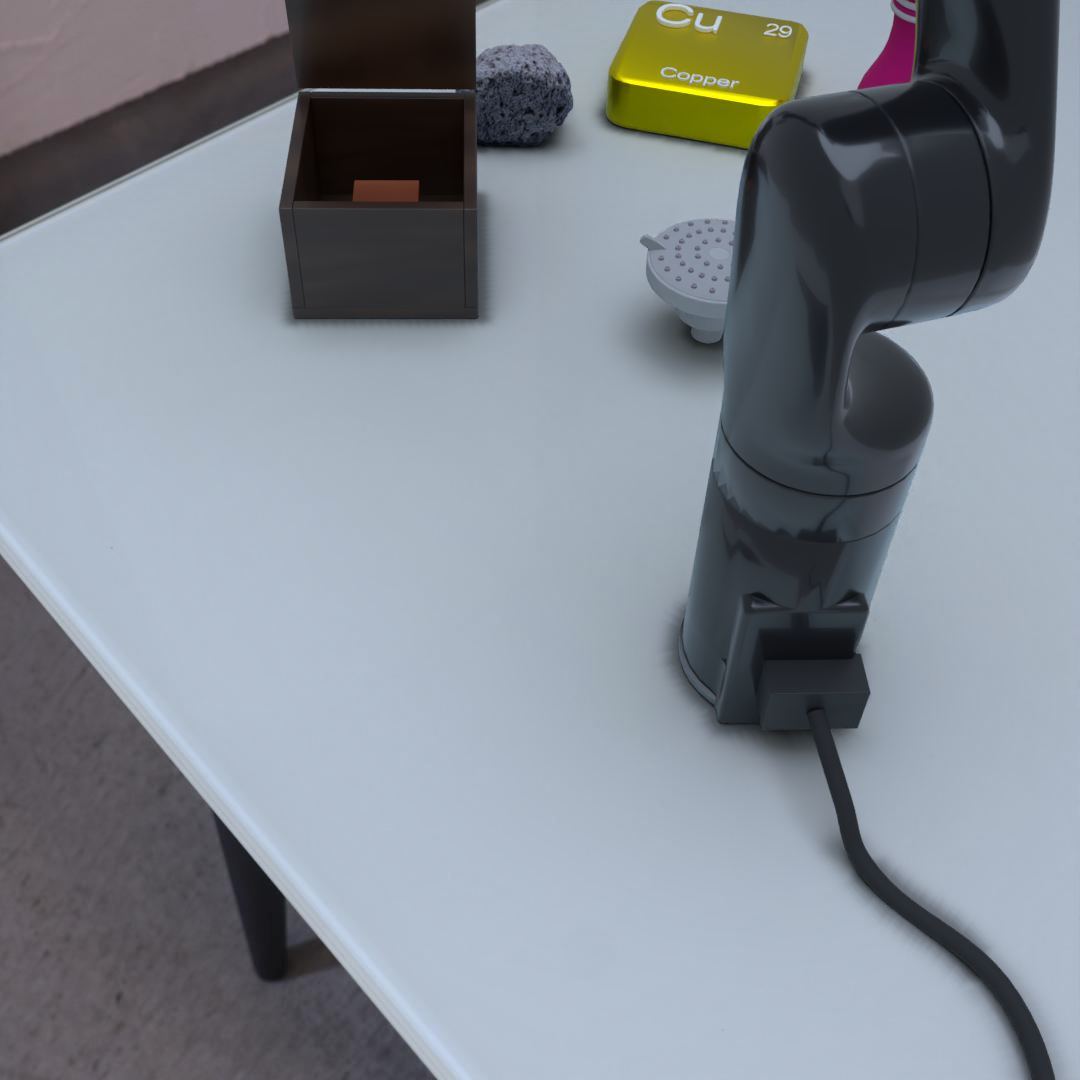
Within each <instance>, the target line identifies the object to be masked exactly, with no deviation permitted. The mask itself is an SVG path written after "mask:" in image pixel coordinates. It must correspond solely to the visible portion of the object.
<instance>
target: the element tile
mask: <svg viewBox="0 0 1080 1080" xmlns="http://www.w3.org/2000/svg"><path fill="white" fill-rule="evenodd" d="M808 42H809V31H808V30H807V28H806V27H805V26H804V24H802V23H800V22H797V21H792V20H787V19H781V18H774V17H769V16H762V15H756V14H750V13H749V14H748V13H742V12H736V11H731V10H730V11H729V10H724V9H717V8H709V7H705V6H698V5H691V4H684V3H678V2H671V1H665V0H649V1H647V2H645V3H644V4H642V5H641V6H639V7H638V8H637V10H636V13H635V14H634V16H633V19H632V21H631V23H630V24H629V27H628V29H627V31H626V33H625V35H624V37H623V39H622V41H621V43H620V45H619V47H618V49H617V51H616V53H615V56H613V59H612V62H611V63H610V66H609V67H608V74H607V87H606V88H607V89H606V101H605V102H606V103H605V114H606V117H607V119H608V120H609V122H611V123H612V124H614V125H616V126H618V127H621V128H625V129H629V130H637V131H642V132H648V133H654V134H658V135H664V136H671V137H675V138H682V139H689V140H693V141H700V142H706V143H710V144H718V145H722V146H729V147H734V148H740V149H746V150H748V149H749V146H750V143H751V140H752V138H753V136H754V134H755V132H756V130H757V128H758V127H759V125H760V124H761V123H762V121H763V120H764V118H765V117H766V116H767V115H768V114H769V113H770V112H771V111H772V110H773V109H775V108H776V107H778V106H780V105H781V104H784V103H786V102H789V101H793V100H796V99H795V98H796V95H797V91H798V88H799V84H800V81H801V78H802V74H803V69H804V63H805V58H806V52H807V48H808Z"/></svg>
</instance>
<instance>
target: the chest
mask: <svg viewBox="0 0 1080 1080" xmlns="http://www.w3.org/2000/svg"><path fill="white" fill-rule="evenodd" d="M355 180H419V186H420V202H395V201H352V199H353V189H354V181H355ZM278 213H279V220H280V228H281V229H280V230H281V235H282V243H283V250H284V251H283V252H284V257H285V264H286V272H287V278H288V284H289V285H288V286H289V292H290V301H291V307H292V315H293V319H478V318H479V254H478V253H479V240H478V239H479V237H478V233H479V232H478V230H479V229H478V228H479V225H478V223H479V222H478V216H479V215H478V143H477V94H476V93H459V92H455V91H454V92H446V91H445V92H443V91H441V92H440V91H434V92H433V91H431V92H430V91H328V90H327V91H325V90H324V91H323V90H322V91H319V90H317V91H315V90H313V91H304V90H303V91H302V90H301V91H300V90H299V91H298V93H297V99H296V105H295V112H294V117H293V123H292V129H291V134H290V140H289V145H288V151H287V157H286V164H285V170H284V175H283V181H282V187H281V194H280V199H279V205H278Z"/></svg>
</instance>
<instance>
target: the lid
mask: <svg viewBox="0 0 1080 1080" xmlns="http://www.w3.org/2000/svg"><path fill="white" fill-rule="evenodd" d="M284 5H285V6H284V7H285V13H286V18H287V26H288V31H289V40H290V46H291V53H292V54H291V55H292V62H293V67H294V73H295V80H296V81H295V82H296V88H297V89H312V90H313V89H316V90H317V89H321V90H322V89H324V90H325V89H329V90H439V91H440V90H445V91H446V90H453V91H454V90H476V59H477V0H284Z"/></svg>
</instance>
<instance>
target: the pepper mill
mask: <svg viewBox="0 0 1080 1080" xmlns="http://www.w3.org/2000/svg"><path fill="white" fill-rule="evenodd" d="M889 4H890V5H889V6H890V9H891V11H892V12H893V20H892V26H891V29H890V31H889V36H888V39H887V41H886V43H885V45H884V46H883V49H882V50H881V52H880V54H879V55H878V57H876V59H875V60H874V61H873V63H872V64H871V65H870V67H869V68H867V70H866V72H865V73H864V74H863V76H862V78H861V80H860V81H859V83H858V86H857V87H856V90H858V89H864V88H871V87H878V86H884V85H891V84H897V83H904V82H910V80H911V75H912V69H913V62H914V50H915V34H916V1H915V0H890V3H889Z"/></svg>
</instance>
